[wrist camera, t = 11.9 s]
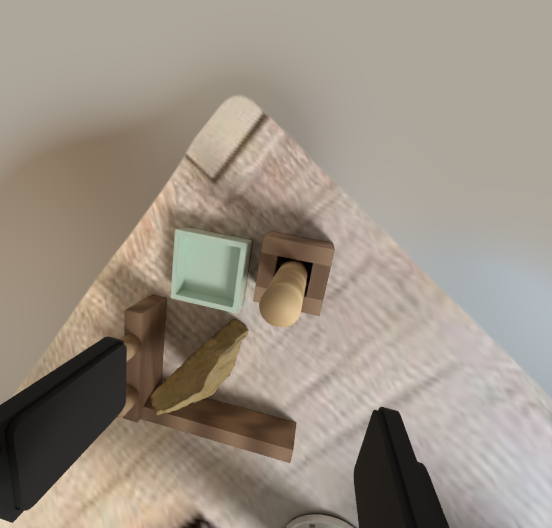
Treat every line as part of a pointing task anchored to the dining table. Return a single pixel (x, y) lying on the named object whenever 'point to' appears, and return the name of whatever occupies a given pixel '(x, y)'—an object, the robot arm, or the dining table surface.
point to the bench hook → (197, 415)
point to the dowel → (285, 294)
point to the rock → (201, 370)
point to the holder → (296, 249)
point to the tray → (210, 269)
